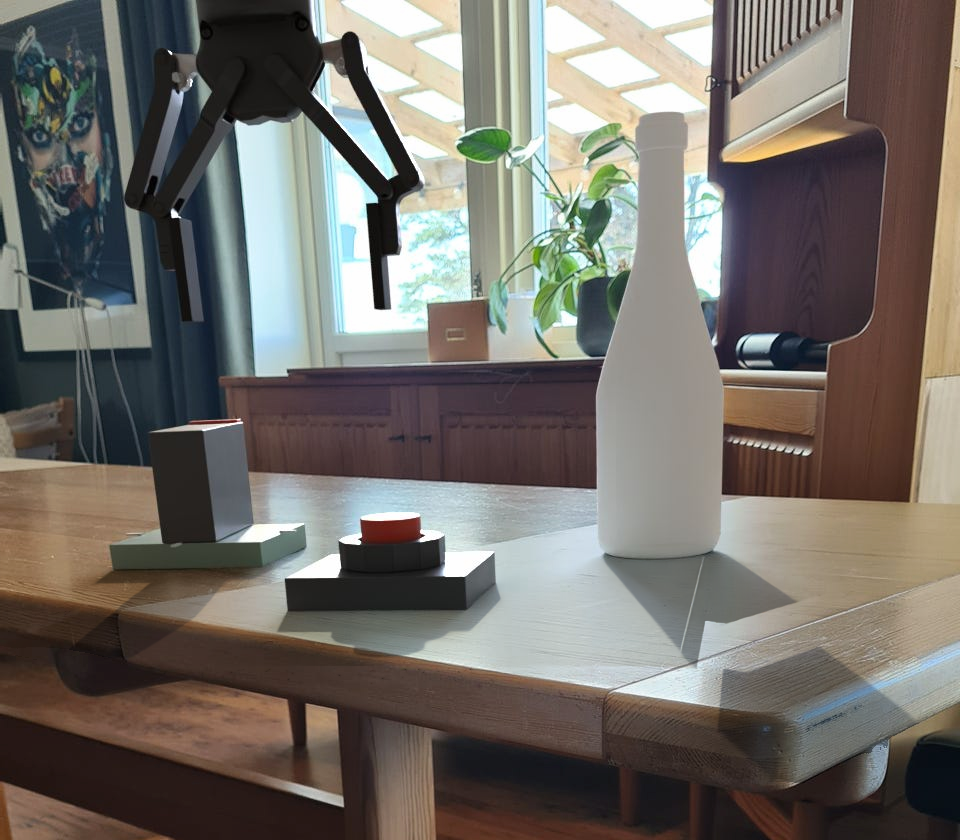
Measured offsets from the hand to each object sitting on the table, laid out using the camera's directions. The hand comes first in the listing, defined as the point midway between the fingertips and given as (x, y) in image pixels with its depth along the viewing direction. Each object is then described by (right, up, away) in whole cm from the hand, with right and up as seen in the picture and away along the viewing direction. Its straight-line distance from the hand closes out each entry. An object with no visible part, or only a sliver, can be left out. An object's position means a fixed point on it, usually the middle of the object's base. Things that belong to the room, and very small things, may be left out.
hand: (287, 316), depth 90 cm
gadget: (-9, -11, +18) cm, 23 cm away
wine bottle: (+28, -14, +11) cm, 33 cm away
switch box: (+8, -20, -3) cm, 22 cm away
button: (+8, -17, -4) cm, 19 cm away
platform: (-9, -13, +19) cm, 24 cm away
